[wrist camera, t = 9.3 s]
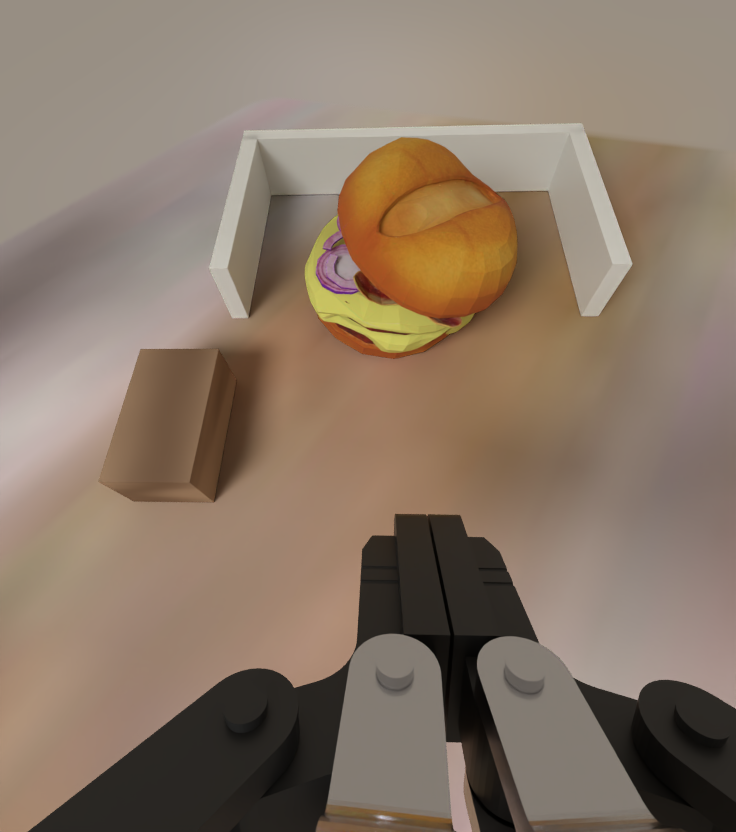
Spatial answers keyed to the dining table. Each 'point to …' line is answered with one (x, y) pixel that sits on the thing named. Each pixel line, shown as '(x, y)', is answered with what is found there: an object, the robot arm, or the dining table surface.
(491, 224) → the cheeseburger
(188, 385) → the cardboard carton
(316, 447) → the dining table surface
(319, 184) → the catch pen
